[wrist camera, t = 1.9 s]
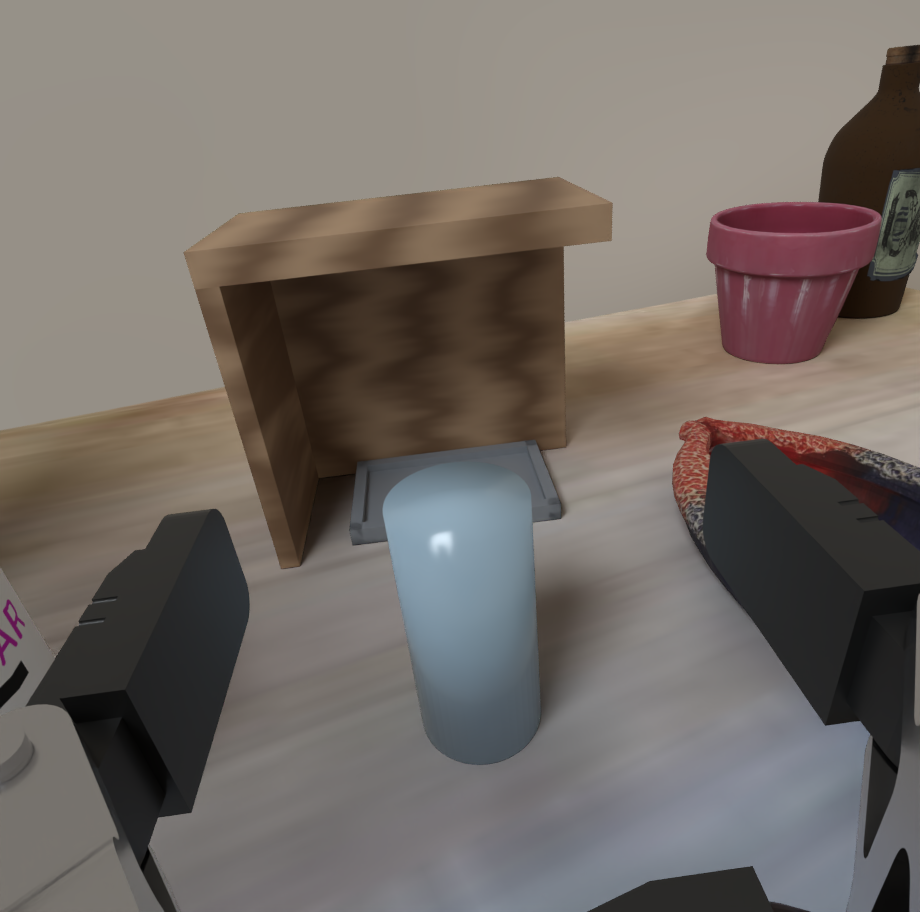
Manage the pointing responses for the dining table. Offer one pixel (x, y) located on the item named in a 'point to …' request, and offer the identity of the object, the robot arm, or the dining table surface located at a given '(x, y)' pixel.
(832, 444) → the dish
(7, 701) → the supplement can
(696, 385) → the dining table surface
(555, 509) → the tray
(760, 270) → the plant pot
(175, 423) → the dining table surface
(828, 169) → the olive oil
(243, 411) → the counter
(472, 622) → the tall pale blue cylinder
